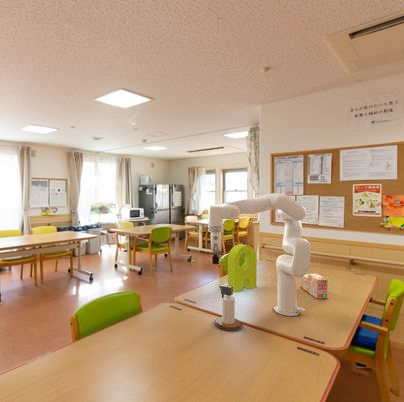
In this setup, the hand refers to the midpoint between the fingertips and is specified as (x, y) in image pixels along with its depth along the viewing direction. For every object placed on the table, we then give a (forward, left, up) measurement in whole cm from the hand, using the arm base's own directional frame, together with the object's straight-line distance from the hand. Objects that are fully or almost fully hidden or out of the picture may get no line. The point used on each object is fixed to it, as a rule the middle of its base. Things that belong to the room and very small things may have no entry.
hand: (215, 261), depth 151 cm
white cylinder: (-8, +3, -31) cm, 32 cm away
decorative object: (+2, -55, -31) cm, 64 cm away
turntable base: (-8, +3, -31) cm, 32 cm away
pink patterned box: (-40, -71, -31) cm, 87 cm away
